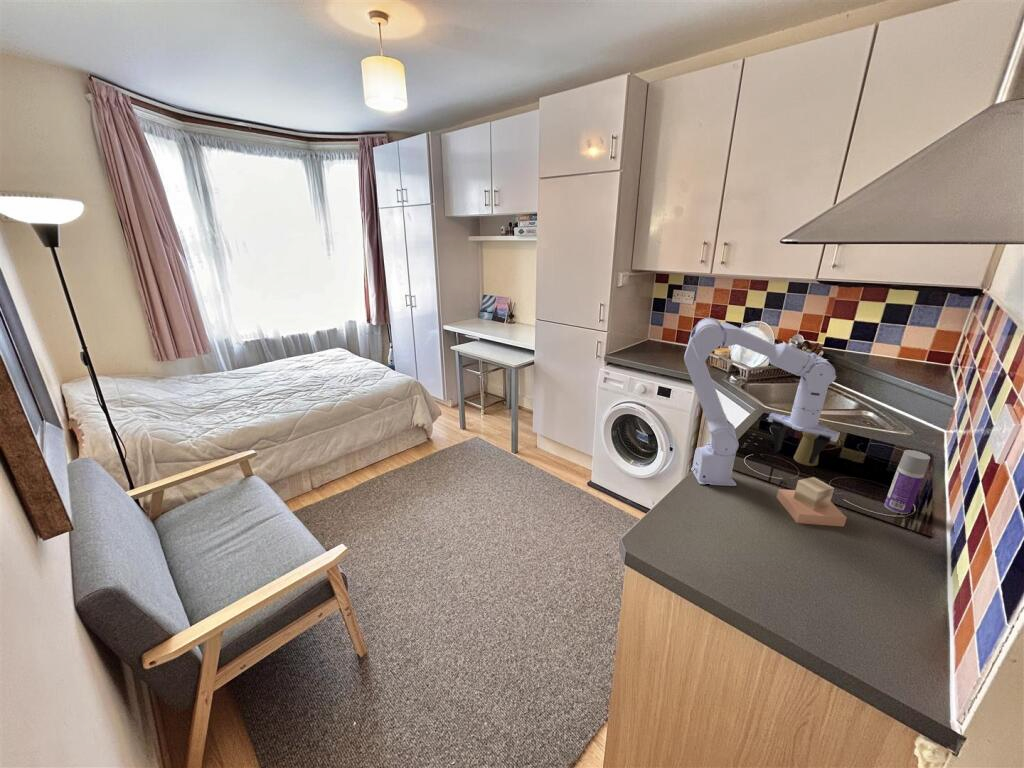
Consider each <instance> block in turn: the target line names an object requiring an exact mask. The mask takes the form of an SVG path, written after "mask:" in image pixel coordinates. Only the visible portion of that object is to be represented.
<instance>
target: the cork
mask: <svg viewBox="0 0 1024 768" xmlns="http://www.w3.org/2000/svg"><path fill="white" fill-rule="evenodd" d="M801 432H802V433H801V434H802V438H801V440H800V442H799V444H798V447H797V448H796V451H795V453H794V455H793V459H794V461H795V462H797V463H798V464H802V465H803V466H809V467H816V466H818V465H819V457H820V456H819V455H820V454H819V455H818V456H817V458H816V460H815V462H814V463H813V464H810V463H809V459H810V457H811V454H812V451H813V445H814V439H816V438H817V437H819V436H817V435H814V434H811V433H808V432H804V431H801Z"/></svg>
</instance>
